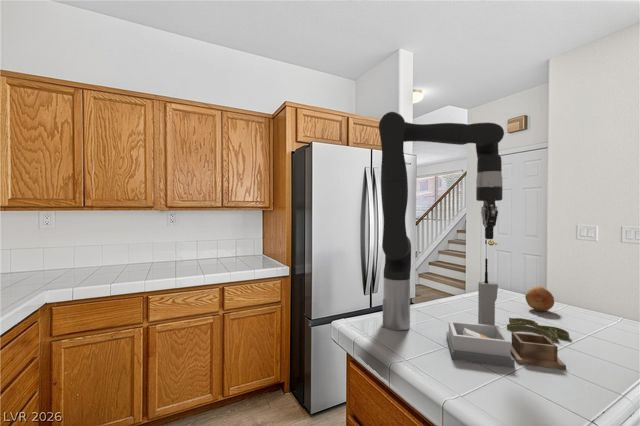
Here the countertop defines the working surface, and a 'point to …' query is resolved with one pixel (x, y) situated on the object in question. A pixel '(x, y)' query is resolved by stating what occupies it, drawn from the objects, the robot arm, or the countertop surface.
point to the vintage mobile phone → (487, 300)
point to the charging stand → (535, 350)
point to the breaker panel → (479, 344)
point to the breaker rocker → (472, 333)
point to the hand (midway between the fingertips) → (489, 238)
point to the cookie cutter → (538, 329)
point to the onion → (539, 299)
